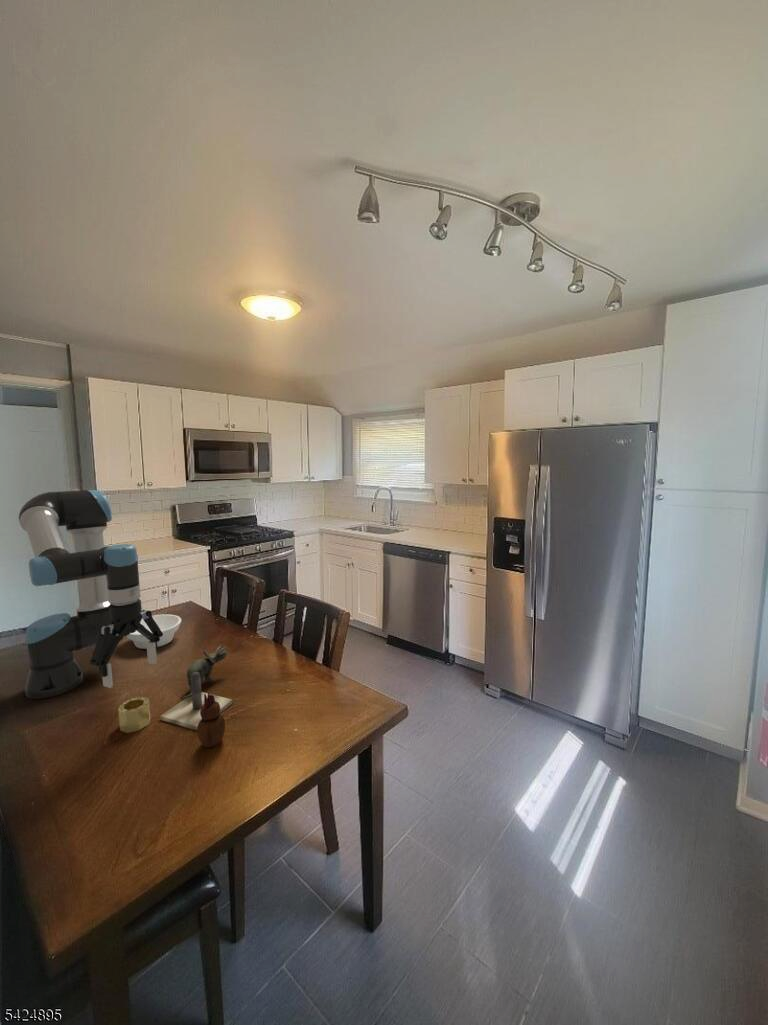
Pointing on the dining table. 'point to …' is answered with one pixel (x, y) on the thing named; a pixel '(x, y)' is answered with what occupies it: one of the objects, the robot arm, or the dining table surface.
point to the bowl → (166, 625)
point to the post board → (192, 706)
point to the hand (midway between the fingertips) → (131, 674)
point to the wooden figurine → (210, 723)
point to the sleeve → (134, 714)
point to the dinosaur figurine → (205, 666)
